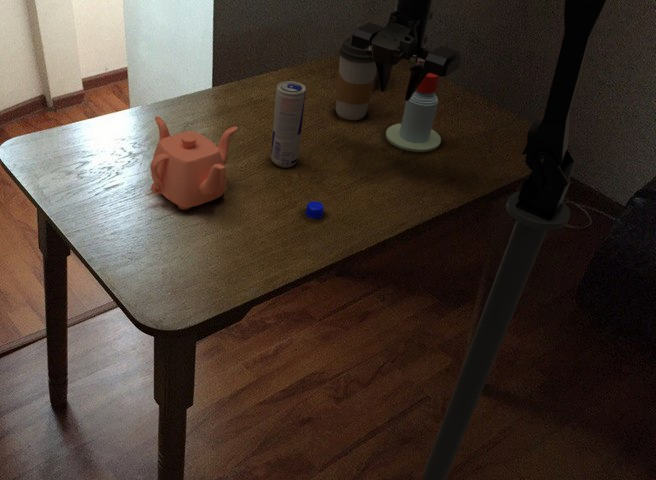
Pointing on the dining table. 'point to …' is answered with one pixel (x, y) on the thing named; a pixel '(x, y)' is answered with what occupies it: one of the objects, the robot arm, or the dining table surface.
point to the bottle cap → (314, 210)
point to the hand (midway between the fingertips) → (395, 95)
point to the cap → (428, 84)
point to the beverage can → (287, 123)
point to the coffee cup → (354, 81)
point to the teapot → (189, 166)
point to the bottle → (418, 117)
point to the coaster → (399, 142)
